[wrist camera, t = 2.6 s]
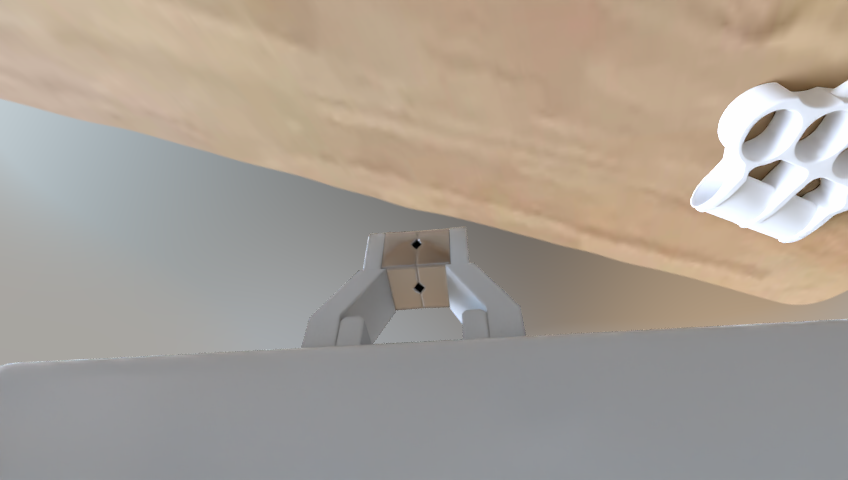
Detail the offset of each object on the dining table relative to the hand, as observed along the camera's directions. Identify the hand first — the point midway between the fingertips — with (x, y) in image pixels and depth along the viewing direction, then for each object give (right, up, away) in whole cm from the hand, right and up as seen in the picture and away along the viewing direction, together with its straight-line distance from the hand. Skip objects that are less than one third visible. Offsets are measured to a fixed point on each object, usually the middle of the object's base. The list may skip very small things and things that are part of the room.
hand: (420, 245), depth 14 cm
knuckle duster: (+34, +8, +27) cm, 44 cm away
